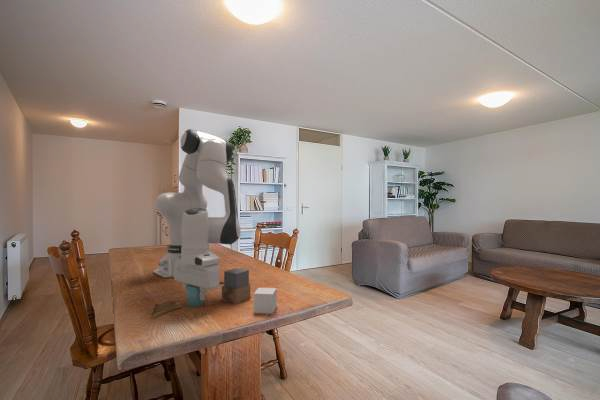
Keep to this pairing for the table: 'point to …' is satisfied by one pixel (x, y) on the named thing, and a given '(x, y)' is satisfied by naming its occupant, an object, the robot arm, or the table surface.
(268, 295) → the white cube
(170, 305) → the shard
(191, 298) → the teal cylinder
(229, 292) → the tower lower block
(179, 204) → the robot arm
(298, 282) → the table surface
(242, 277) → the tower upper block
